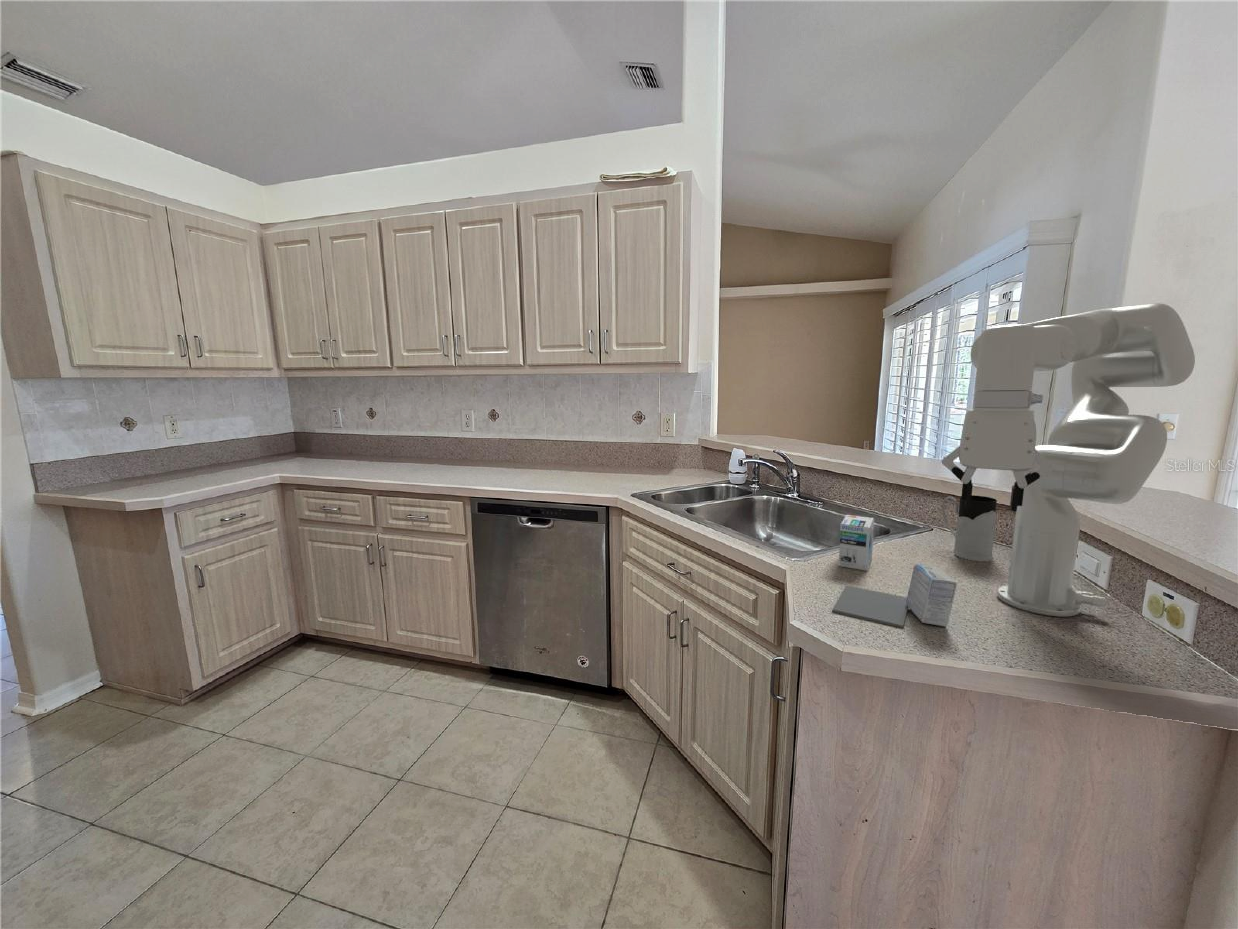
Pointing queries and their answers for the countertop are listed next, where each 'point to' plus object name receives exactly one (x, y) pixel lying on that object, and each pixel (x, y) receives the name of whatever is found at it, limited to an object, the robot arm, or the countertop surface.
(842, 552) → the light bulb box
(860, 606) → the mat
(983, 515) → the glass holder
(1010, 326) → the robot arm
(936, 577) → the medicine box
